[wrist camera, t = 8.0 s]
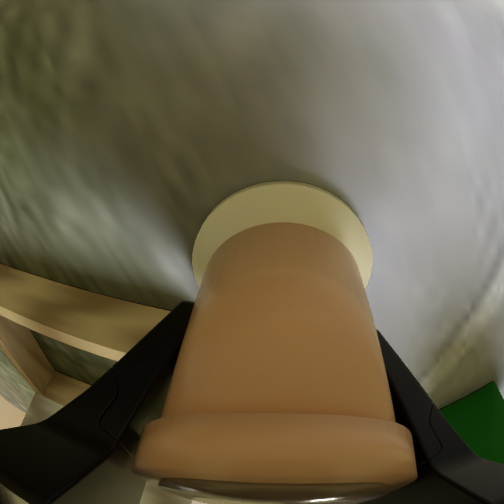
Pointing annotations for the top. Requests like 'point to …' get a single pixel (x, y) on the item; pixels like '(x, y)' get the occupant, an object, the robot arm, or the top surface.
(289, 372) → the pot
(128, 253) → the top surface
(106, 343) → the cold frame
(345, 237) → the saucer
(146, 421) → the robot arm
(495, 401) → the milk carton
